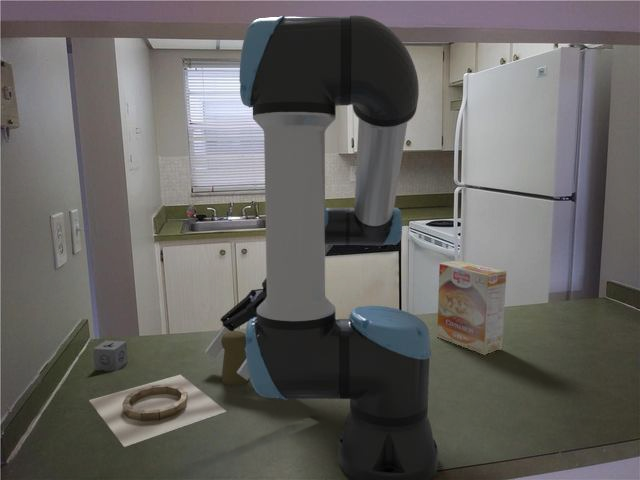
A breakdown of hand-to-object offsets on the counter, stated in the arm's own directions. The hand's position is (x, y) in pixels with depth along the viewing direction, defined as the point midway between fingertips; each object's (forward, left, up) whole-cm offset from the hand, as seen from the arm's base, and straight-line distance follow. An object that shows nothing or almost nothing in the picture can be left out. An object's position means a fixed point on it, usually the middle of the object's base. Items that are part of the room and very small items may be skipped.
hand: (224, 365), depth 104 cm
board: (-1, +15, -5) cm, 15 cm away
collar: (-1, +15, -3) cm, 15 cm away
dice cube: (+26, +15, -5) cm, 30 cm away
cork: (0, -2, -5) cm, 5 cm away
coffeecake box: (-16, -58, -5) cm, 61 cm away
